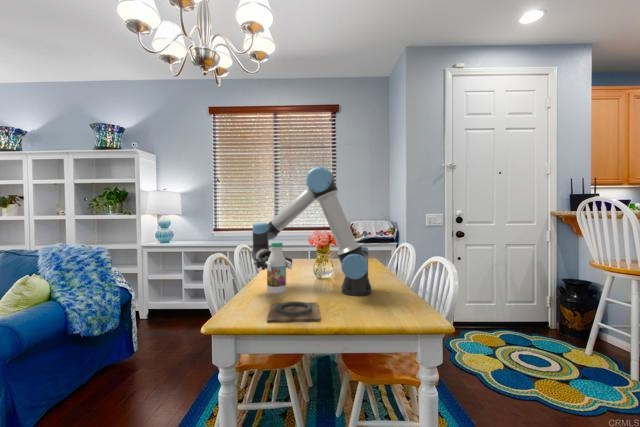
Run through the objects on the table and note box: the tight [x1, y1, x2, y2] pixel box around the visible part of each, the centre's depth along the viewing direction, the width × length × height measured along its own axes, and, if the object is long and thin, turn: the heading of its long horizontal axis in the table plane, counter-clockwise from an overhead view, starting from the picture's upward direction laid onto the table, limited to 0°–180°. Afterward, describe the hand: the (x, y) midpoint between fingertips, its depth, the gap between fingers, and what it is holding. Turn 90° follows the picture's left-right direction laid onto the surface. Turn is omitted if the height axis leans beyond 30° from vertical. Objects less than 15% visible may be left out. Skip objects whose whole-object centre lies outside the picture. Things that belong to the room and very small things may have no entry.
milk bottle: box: [266, 241, 287, 294], centre depth 129 cm, size 8×8×20 cm
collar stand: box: [266, 300, 321, 323], centre depth 129 cm, size 20×20×2 cm
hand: (280, 266), depth 124 cm, fingers closed on milk bottle, 8 cm apart
